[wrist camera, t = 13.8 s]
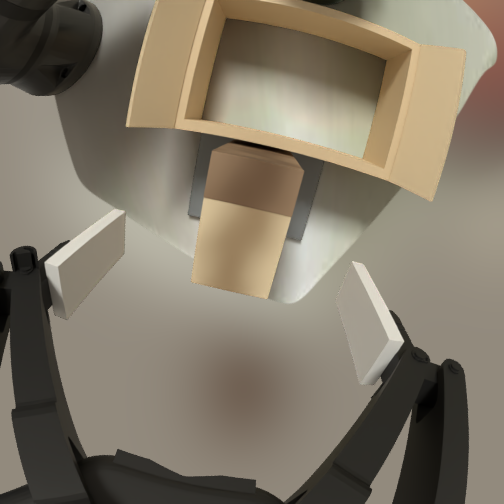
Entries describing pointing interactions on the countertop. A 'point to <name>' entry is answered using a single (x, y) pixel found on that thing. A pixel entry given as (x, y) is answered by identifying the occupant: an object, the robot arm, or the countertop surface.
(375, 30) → the carton
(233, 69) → the countertop surface
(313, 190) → the mat
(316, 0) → the mug
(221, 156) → the block
